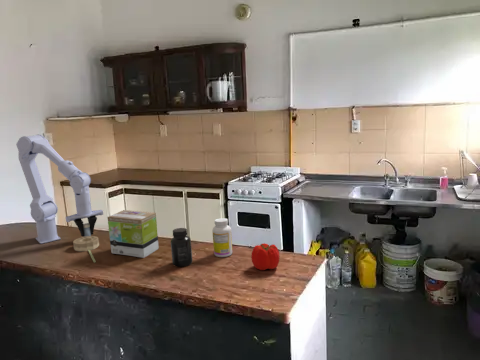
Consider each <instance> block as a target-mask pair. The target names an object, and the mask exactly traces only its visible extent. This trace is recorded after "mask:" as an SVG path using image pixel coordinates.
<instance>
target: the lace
mask: <svg viewBox="0 0 480 360" xmlns="http://www.w3.org/2000/svg"><path fill="white" fill-rule="evenodd" d="M87 252H88V253H89V256H90V258H91V260H92V262H93V263H96V262H97V261H96V259H95V257H94V254H92V250H88V251H87Z"/></svg>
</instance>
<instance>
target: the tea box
mask: <svg viewBox="0 0 480 360" xmlns="http://www.w3.org/2000/svg"><path fill="white" fill-rule="evenodd" d="M107 224H108V225H107V227H108V235H109V236H108V237H109V243H110V251H111V254H112V255H113V254H116V255H123V256H128V257H129V256H130V257H134V258H136V257H137V258H143V259H144V258H146V257H148V256H150V255H151V254H153V253H154V252H156V251H157V250H159V247H160V246H159V236H158V222H157V212H152V211H141V210H140V211H139V210H130V209H129V210H127V209H123V210H121V211H118V212H117V213H114V214H111V215H109V216H107Z"/></svg>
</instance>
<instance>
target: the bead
mask: <svg viewBox="0 0 480 360" xmlns="http://www.w3.org/2000/svg"><path fill="white" fill-rule="evenodd" d="M72 243H73V250H74V251H76V252H88V250H90V251H93V250H95V249H97V248H98V247H99V246H100V240H99V237H98V236H95V235H91V236H86V237H82V236H81V237H78V238H76V239H74V240H73V241H72Z"/></svg>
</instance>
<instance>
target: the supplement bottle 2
mask: <svg viewBox="0 0 480 360" xmlns="http://www.w3.org/2000/svg"><path fill="white" fill-rule="evenodd" d="M228 224H229V219H228V218H226V217H225V218H224V217H220V218H216V219H214V226H213V227H212V244H213V253H214V254H213V255H214V256H215V257H217V258H218V257H219V258H225V257H230V256H231V255H232V254H233V238H232V237H233V236H232V228H231V226H230V225H228Z"/></svg>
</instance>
